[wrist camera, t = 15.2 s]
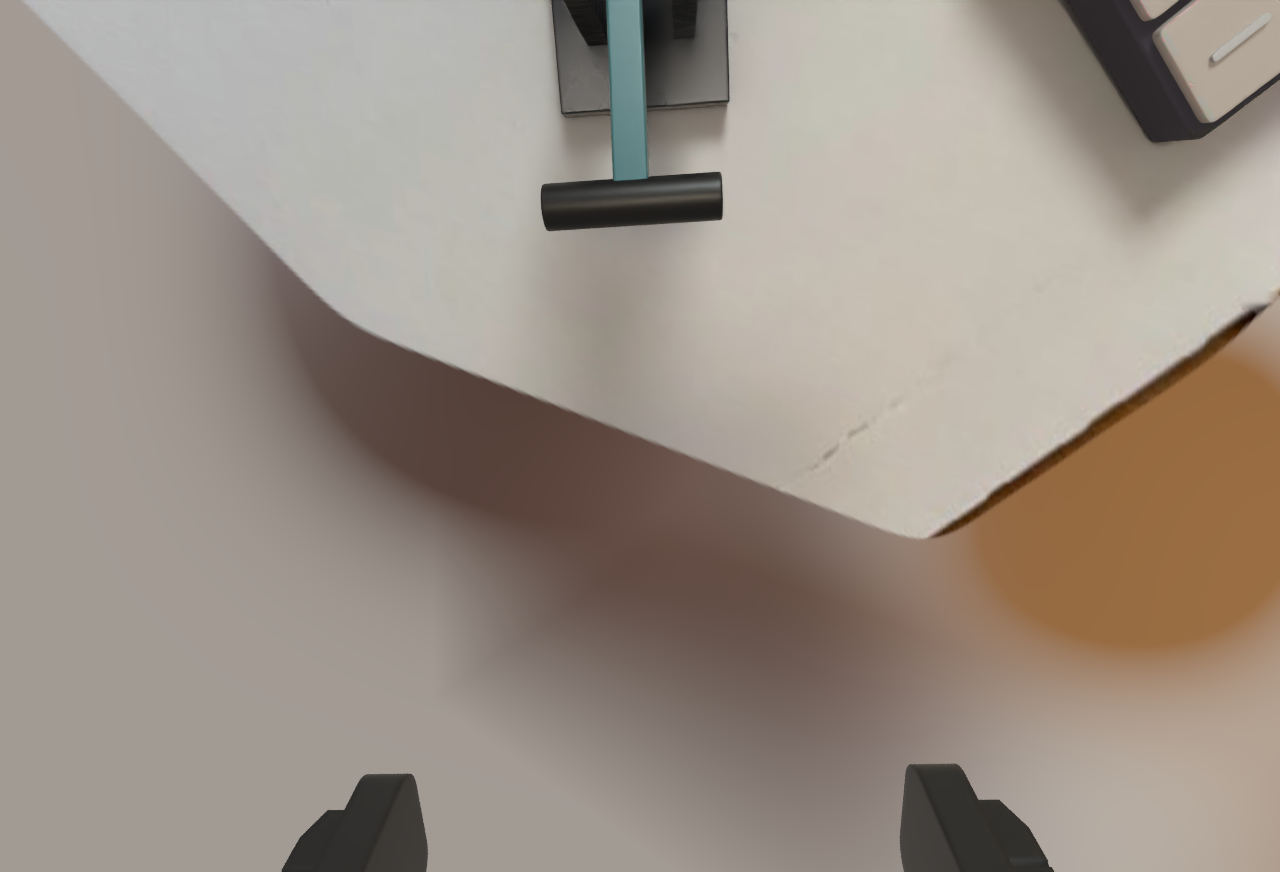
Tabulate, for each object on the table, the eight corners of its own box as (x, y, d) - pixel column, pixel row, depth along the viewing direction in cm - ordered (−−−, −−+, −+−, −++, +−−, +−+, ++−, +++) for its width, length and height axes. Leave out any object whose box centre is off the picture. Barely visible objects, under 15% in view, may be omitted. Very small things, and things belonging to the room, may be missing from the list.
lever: (720, 231, 24) (724, 204, 21) (553, 241, 24) (537, 217, 22) (704, -123, 24) (706, -187, 22) (541, -106, 25) (524, -168, 22)
